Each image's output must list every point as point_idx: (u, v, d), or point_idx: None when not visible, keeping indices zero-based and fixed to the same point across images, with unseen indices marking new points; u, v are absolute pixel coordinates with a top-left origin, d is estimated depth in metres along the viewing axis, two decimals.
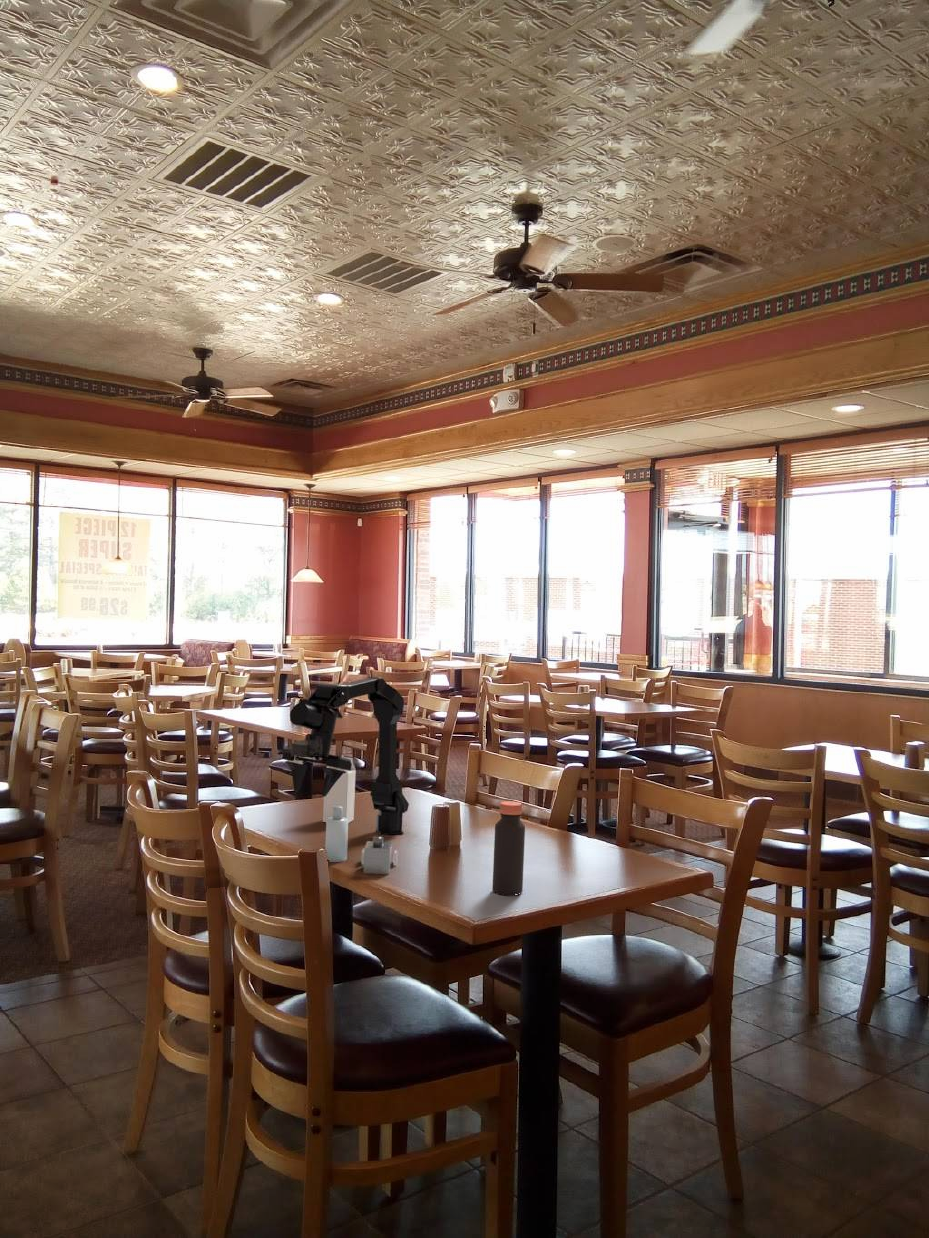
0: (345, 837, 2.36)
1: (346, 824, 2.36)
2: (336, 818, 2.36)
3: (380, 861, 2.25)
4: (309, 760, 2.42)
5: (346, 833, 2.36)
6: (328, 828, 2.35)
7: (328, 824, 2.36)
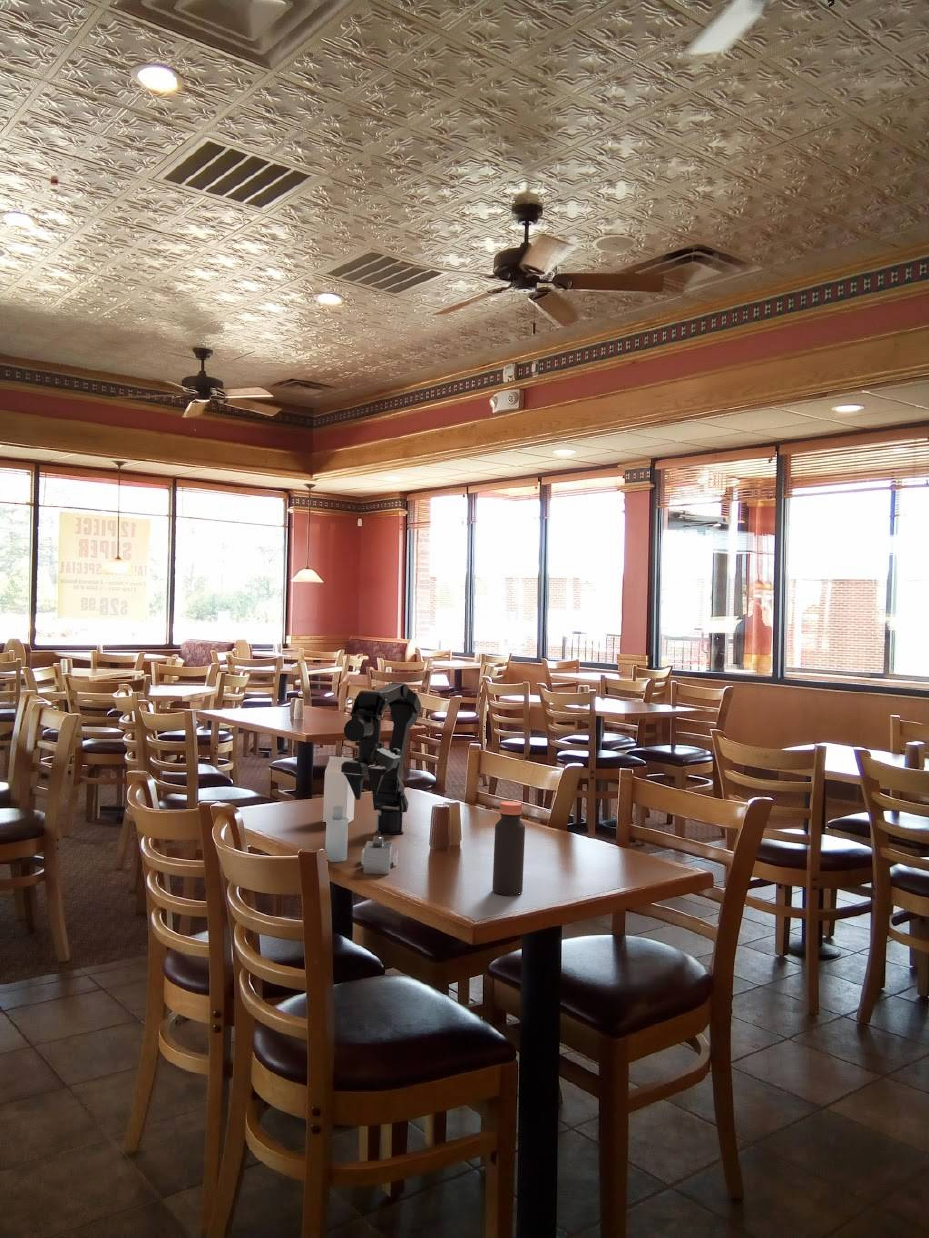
0: (345, 837, 2.36)
1: (346, 824, 2.36)
2: (336, 818, 2.36)
3: (380, 861, 2.25)
4: None
5: (346, 833, 2.36)
6: (328, 828, 2.35)
7: (328, 824, 2.36)
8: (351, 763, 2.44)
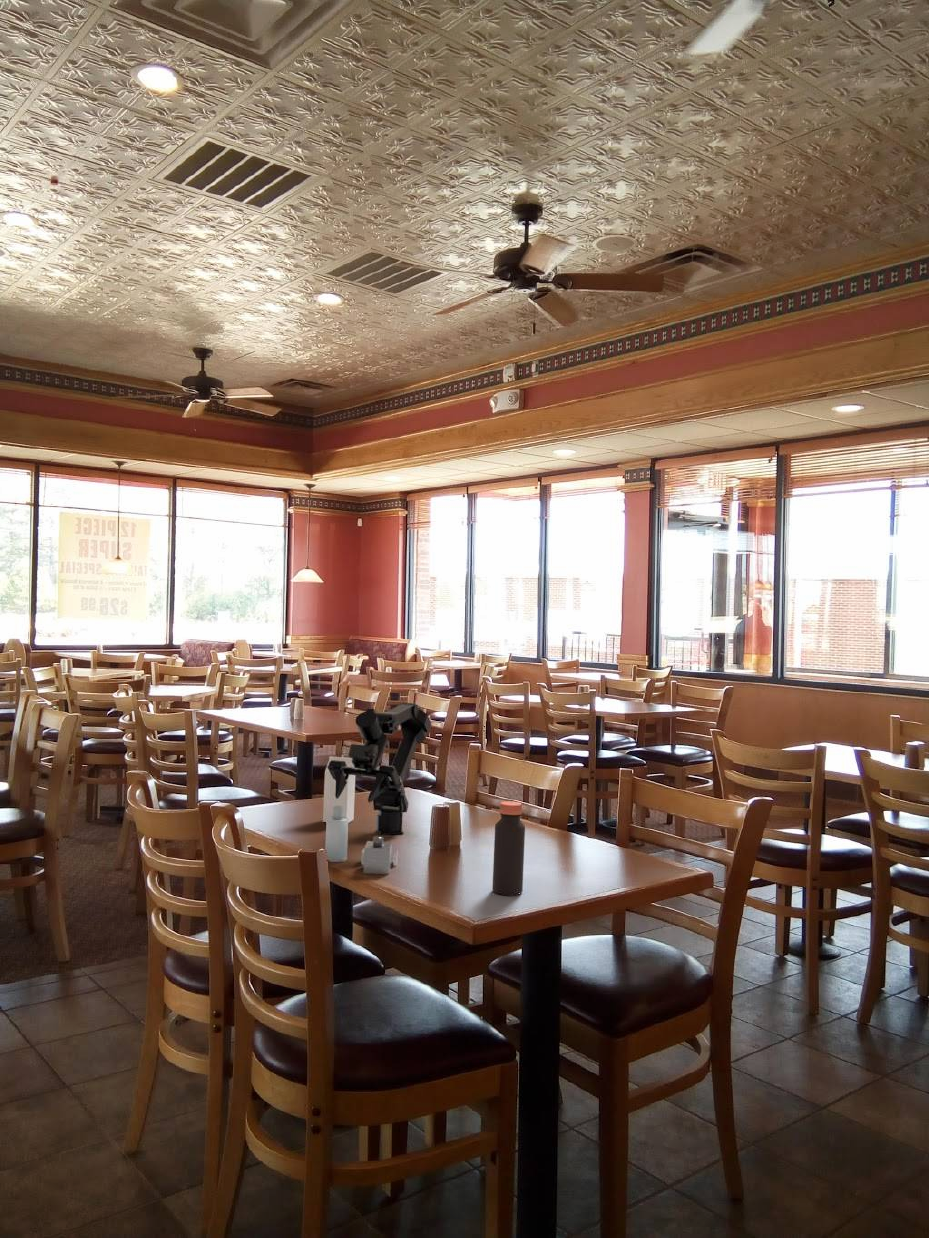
0: (345, 837, 2.36)
1: (346, 824, 2.36)
2: (336, 818, 2.36)
3: (380, 861, 2.25)
4: (356, 772, 2.51)
5: (346, 833, 2.36)
6: (328, 828, 2.36)
7: (328, 824, 2.36)
8: None
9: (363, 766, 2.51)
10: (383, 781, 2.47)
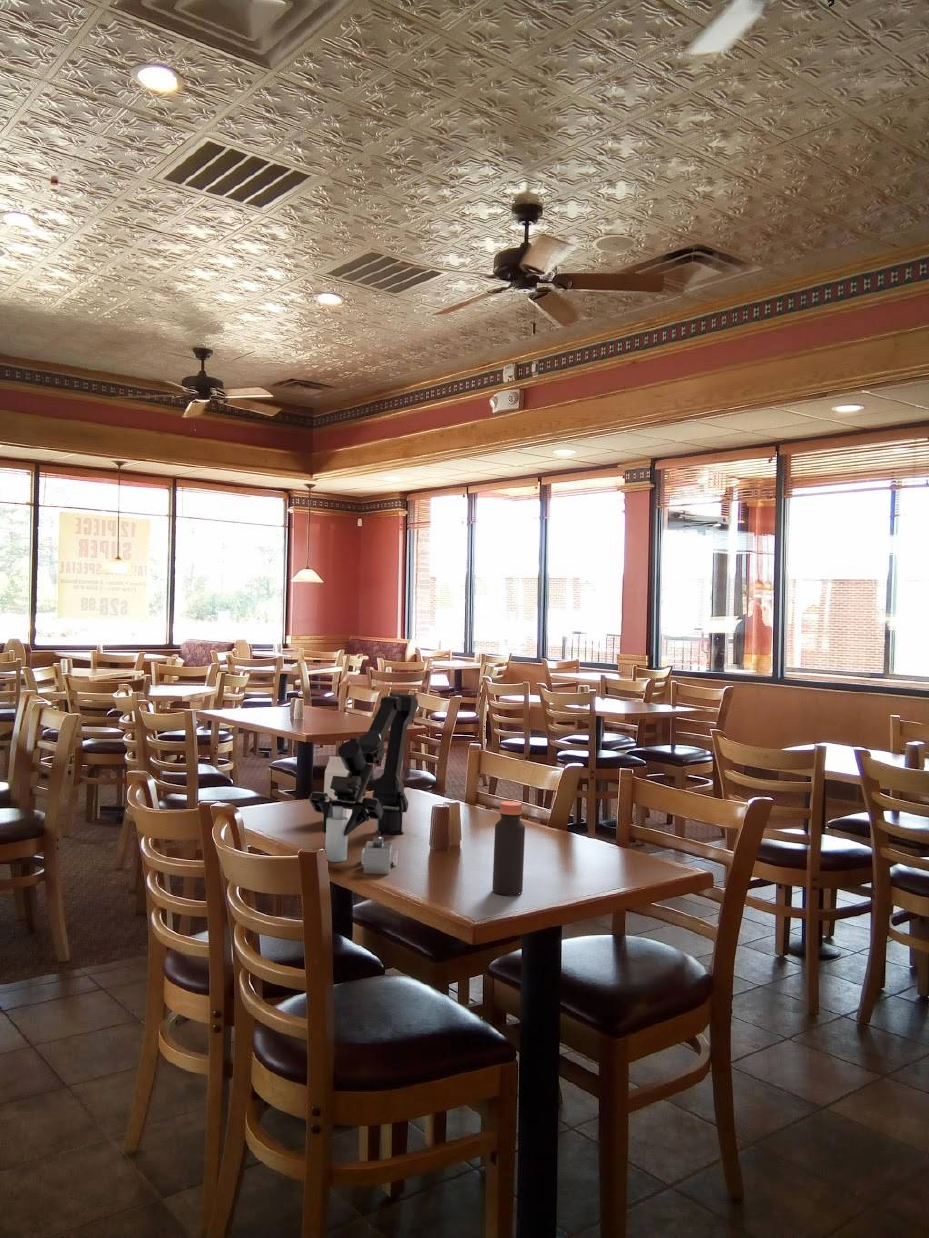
0: (345, 837, 2.36)
1: (346, 824, 2.36)
2: (336, 818, 2.36)
3: (380, 861, 2.25)
4: (338, 804, 2.42)
5: None
6: (328, 828, 2.35)
7: (328, 824, 2.36)
8: None
9: (345, 798, 2.42)
10: (360, 813, 2.39)
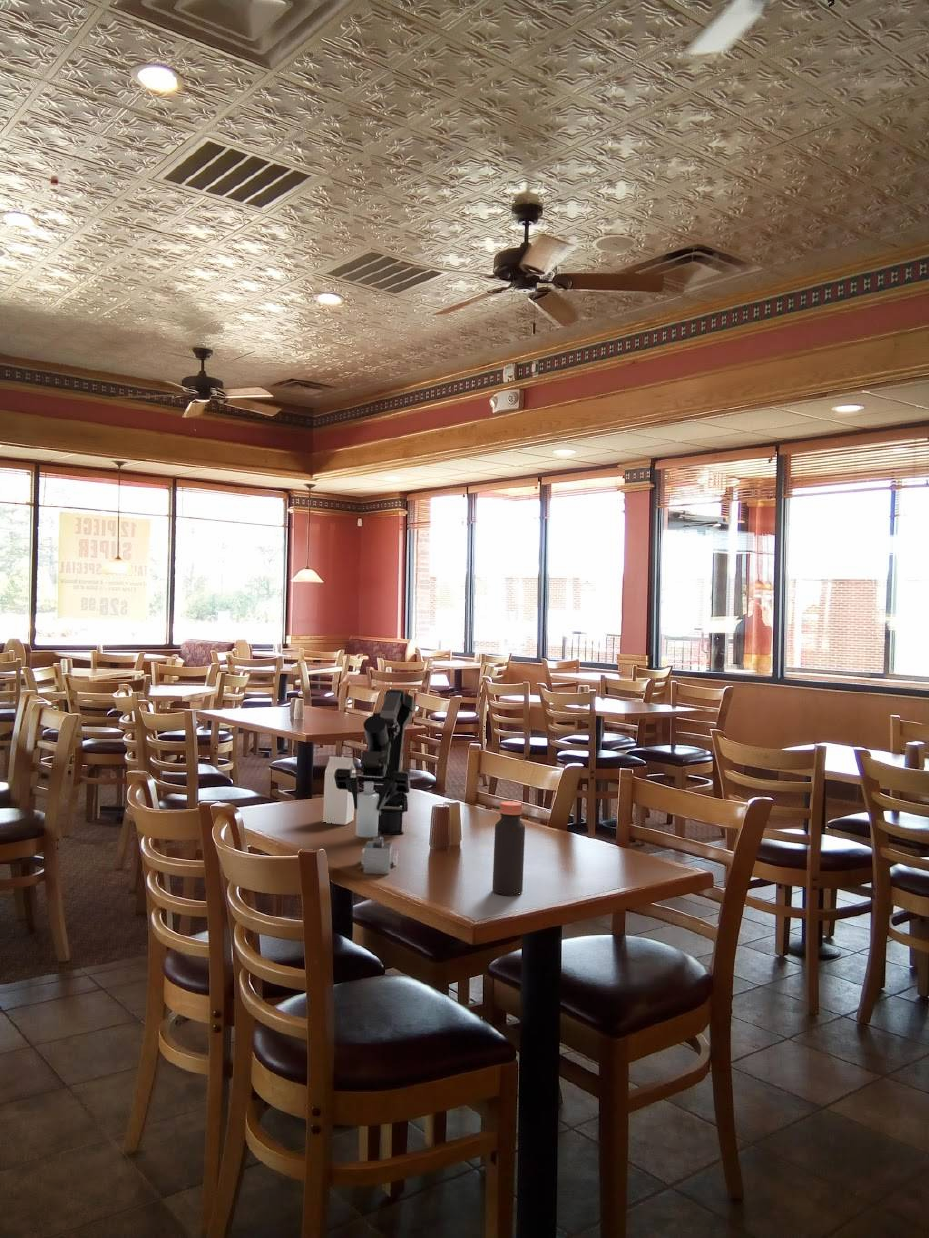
0: (377, 812, 2.35)
1: (378, 799, 2.35)
2: (368, 793, 2.35)
3: (380, 861, 2.25)
4: (364, 780, 2.40)
5: None
6: (361, 804, 2.34)
7: (361, 800, 2.34)
8: None
9: (371, 773, 2.41)
10: (389, 788, 2.38)
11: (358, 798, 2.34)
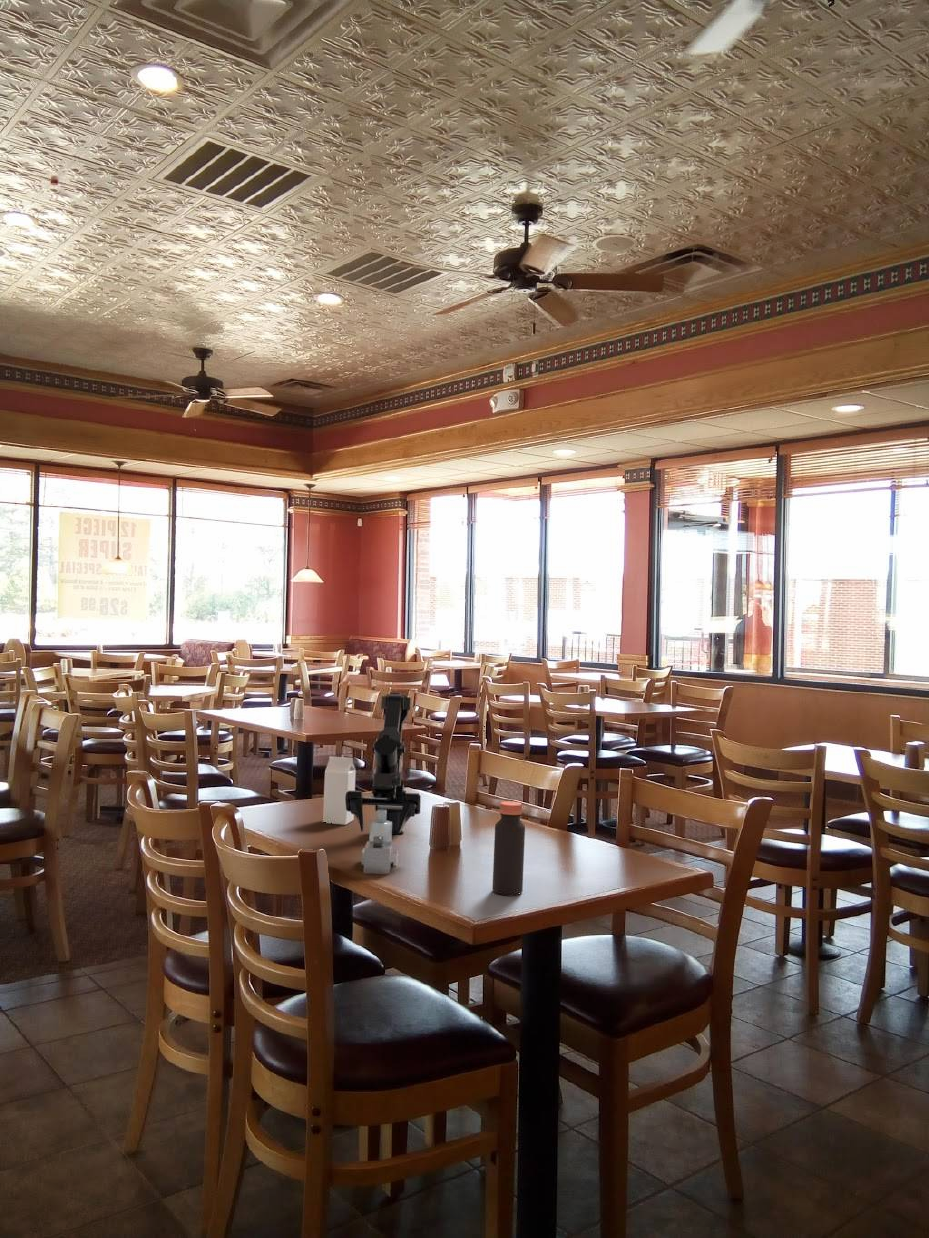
0: None
1: (391, 827, 2.36)
2: (382, 821, 2.35)
3: (380, 861, 2.25)
4: (375, 802, 2.40)
5: (391, 836, 2.36)
6: (375, 832, 2.33)
7: (375, 828, 2.33)
8: None
9: (382, 795, 2.41)
10: None
11: (372, 826, 2.34)
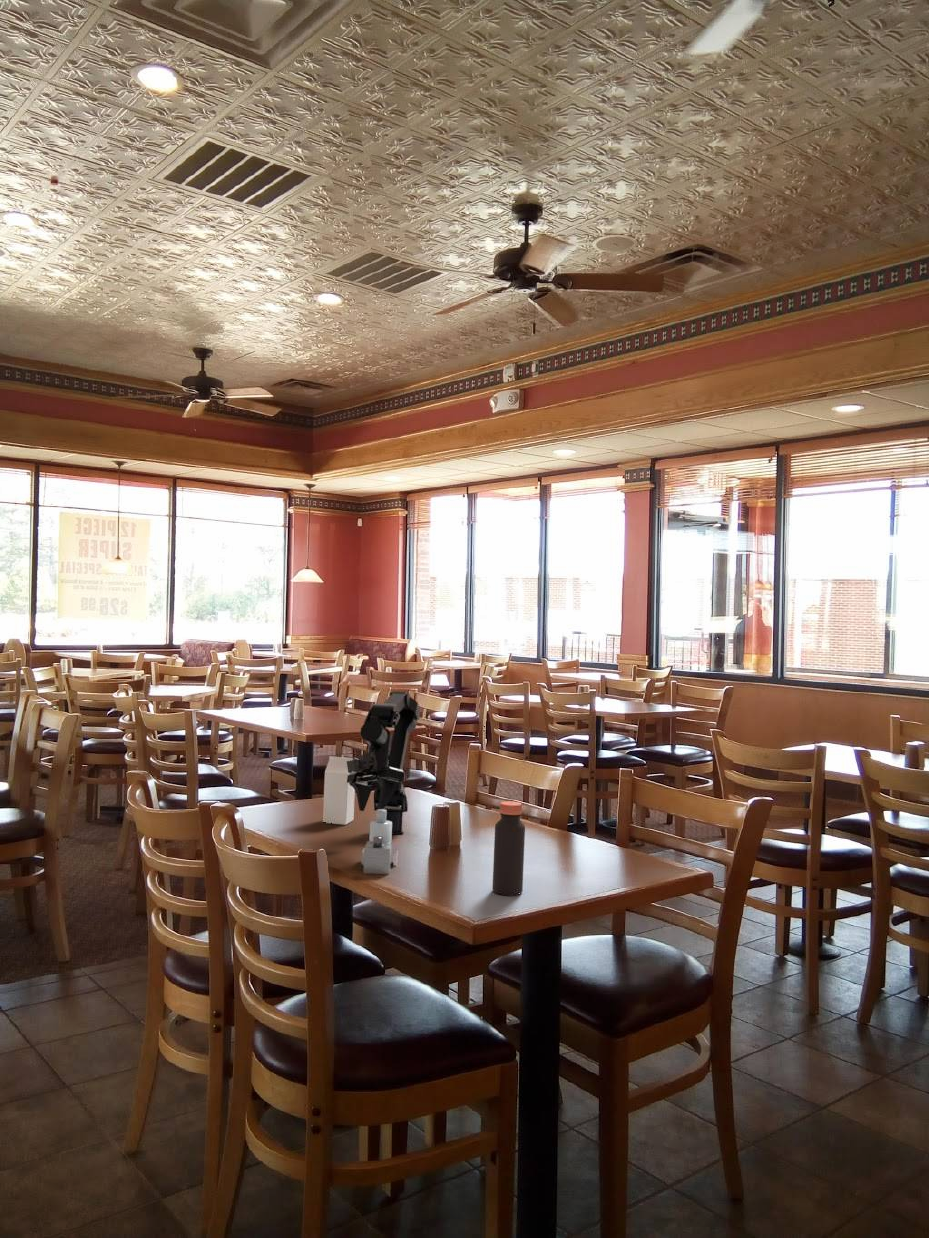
0: None
1: (391, 827, 2.36)
2: (382, 821, 2.35)
3: (380, 861, 2.25)
4: (369, 779, 2.52)
5: (391, 836, 2.36)
6: (375, 832, 2.33)
7: (375, 828, 2.33)
8: None
9: None
10: (388, 783, 2.46)
11: (372, 826, 2.34)
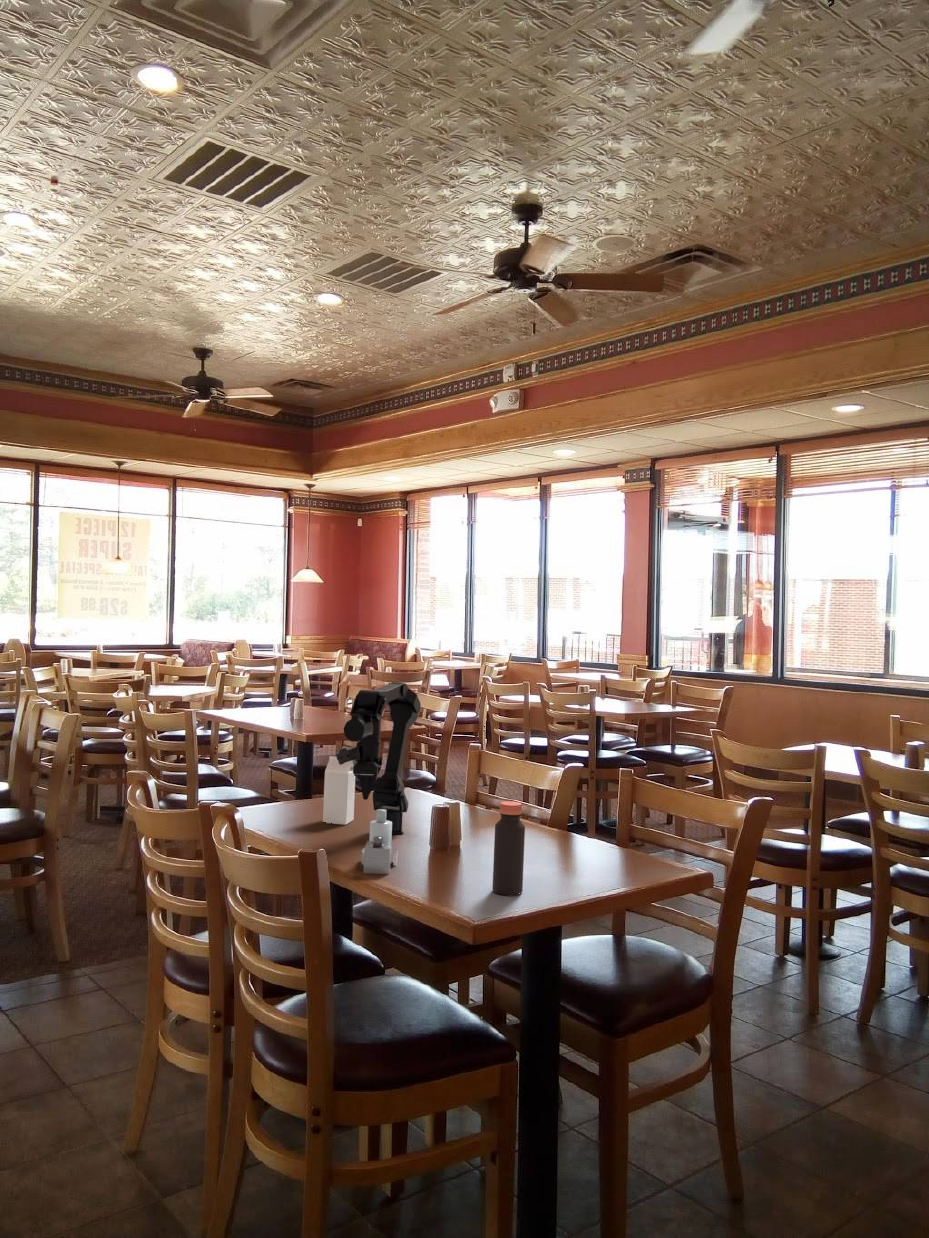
0: None
1: (391, 827, 2.36)
2: (382, 821, 2.35)
3: (380, 861, 2.25)
4: None
5: (391, 836, 2.36)
6: (375, 832, 2.33)
7: (375, 828, 2.33)
8: None
9: None
10: None
11: (372, 826, 2.34)
